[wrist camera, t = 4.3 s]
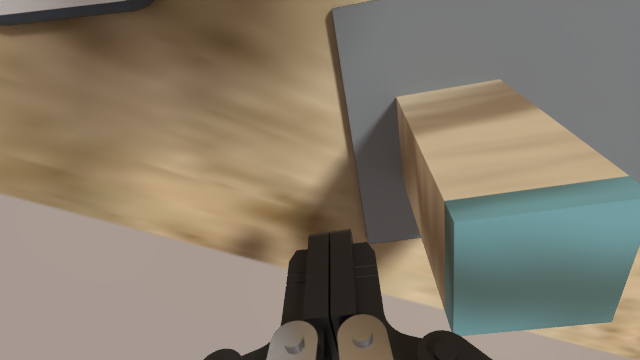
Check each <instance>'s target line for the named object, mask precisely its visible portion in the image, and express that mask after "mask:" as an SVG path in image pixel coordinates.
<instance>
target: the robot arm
mask: <svg viewBox="0 0 640 360" xmlns="http://www.w3.org/2000/svg"><path fill="white" fill-rule="evenodd" d="M286 284H287V286H286V292H285V299H284V307H283V314H282V322H281V327H280V328H279V329H278V330H277V331H276V332H275V333H274V335H273V337H272V339H271V342H269V343H268V344H267V345H265V346H264V347H262V348H260V349H258V350H255V351H253V352H250V353H248V354H246V355H243V356H241V355H240V354H239V353H238V352H236V351H235V350H232V349H221V350H218V351H215V352H213V353H212V354H210V355H208V356H207V357H206V358H205V359H204V360H492V359H491V358H489V357H488V356H487V355H485V354H484V353H482V352H481V351H480V350H479V349H477V348H476V347H474V346H473V345H472V344H470V343H469V342H468V341H466V340H465V339H464V338H462V337H461V336H459V335H458V334H455V333H453V332H449V331H443V330H441V331H434V332H431V333H429V334H427V335H425V336H424V337H423V338H417V337H413V336H409V335H405V334H402V333H400V332H398V331H397V330H395V329H394V328H392V327H391V326H390V324H389V323H388V322H387V320H386V318H385V315H384V310H383V304H382V297H381V290H380V284H379V277H378V270H377V264H376V257H375V252H374V250H373V249H372V248H371V246H370V245H369V244H368V243H367V242H364V243H355V244H353V239H352V233H351V229H349V230H341V231H333V232H331V233H330V232H325V233H317V234H310V235H309V239H308V249H306V250H297V251H296V252H295V254H294V255H293V257H292V258H291V260H290V262H289V268H288V276H287V283H286Z"/></svg>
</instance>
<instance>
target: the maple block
mask: <svg viewBox="0 0 640 360" xmlns="http://www.w3.org/2000/svg"><path fill="white" fill-rule="evenodd" d="M396 100H397V113H398V125H399V138H400V150H401V163H402V175H403V182H404V185H405V188H406V191H407V195H408V198H409V201H410V204H411V207H412V210H413V213H414V216H415V219H416V223H417V226H418V229H419V232H420V235H421V238H422V241H423V244H424V247H425V250H426V254H427V257H428V260H429V263H430V266H431V269H432V272H433V275H434V278H435V281H436V285H437V288H438V291H439V294H440V297H441V300H442V303H443V306H444V309H445V312H446V316H447V318H448V322H449V325H450V328H451V331H452V332H453V333H455V334H458V335H459V336H466V335H477V334H486V333H487V334H488V333H498V332H509V331H520V330H531V329H541V328H552V327H563V326H574V325H584V324H595V323H606V322H612V320H613V317H614V314H615V311H616V309H617V306H618V303H619V300H620V298H621V295H622V292H623V289H624V287H625V284H626V281H627V278H628V276H629V273H630V270H631V267H632V265H633V262H634V259H635V256H636V254H637V251H638V248H639V245H640V183H638V182H637V181H636V180H634V179H633V178H632V177H630V176H629V175H628V174H626V173H625V172H624V171H622V170H621V169H620V168H618V167H617V166H616V165H614V164H613V163H612V162H610V161H609V160H608V159H606V158H605V157H604V156H602V155H601V154H600V153H598V152H597V151H596V150H594V149H593V148H592V147H590V146H589V145H587V144H586V143H585V142H583V141H582V140H581V139H579V138H578V137H577V136H575V135H574V134H573V133H571V132H570V131H569V130H567V129H566V128H565V127H563V126H562V125H561V124H559V123H558V122H557V121H555V120H554V119H553V118H551V117H550V116H549V115H547V114H546V113H545V112H543V111H542V110H541V109H539V108H538V107H537V106H535V105H534V104H533V103H531V102H530V101H528V100H527V99H526V98H524V97H523V96H522V95H520V94H519V93H518V92H516V91H515V90H514V89H512V88H511V87H510V86H508V85H507V84H506V83H504V82H503V81H502V80H500V79H499V80H493V81H487V82H481V83H475V84H469V85H464V86H458V87H452V88H446V89H440V90H434V91H428V92H422V93H417V94H411V95H405V96H399V97H396Z"/></svg>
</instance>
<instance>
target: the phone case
mask: <svg viewBox="0 0 640 360" xmlns="http://www.w3.org/2000/svg"><path fill="white" fill-rule="evenodd" d="M153 1H154V0H0V25H16V24H25V23H34V22H42V21H51V20H60V19H69V18H77V17H86V16H95V15H104V14H112V13H121V12H130V11H136V10H140V9H142V8H145V7H147V6H149V5H150V4H151V3H152V2H153Z"/></svg>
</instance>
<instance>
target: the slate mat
mask: <svg viewBox="0 0 640 360" xmlns="http://www.w3.org/2000/svg"><path fill="white" fill-rule="evenodd" d="M332 13H333V20H334V26H335V33H336V39H337V46H338V52H339V59H340V65H341V71H342V78H343V84H344V91H345V97H346V104H347V110H348V116H349V123H350V129H351V136H352V142H353V149H354V155H355V162H356V168H357V174H358V181H359V187H360V194H361V200H362V207H363V213H364V219H365V226H366V232H367V239H368V244H375V243H383V242H391V241H399V240H407V239H415V238H421V235H420V232H419V229H418V226H417V223H416V219H415V216H414V213H413V210H412V207H411V204H410V201H409V198H408V195H407V191H406V188H405V185H404V182H403V175H402V163H401V150H400V138H399V125H398V113H397V100H396V97H399V96H405V95H411V94H417V93H422V92H428V91H434V90H440V89H446V88H452V87H458V86H464V85H469V84H475V83H481V82H487V81H493V80H499V79H500V80H502V81H503V82H504V83H506V84H507V85H508V86H510V87H511V88H512V89H514V90H515V91H516V92H518V93H519V94H520V95H522V96H523V97H524V98H526V99H527V100H528V101H530V102H531V103H533V104H534V105H535V106H537V107H538V108H539V109H541V110H542V111H543V112H545V113H546V114H547V115H549V116H550V117H551V118H553V119H554V120H555V121H557V122H558V123H559V124H561V125H562V126H563V127H565V128H566V129H567V130H569V131H570V132H571V133H573V134H574V135H575V136H577V137H578V138H579V139H581V140H582V141H583V142H585V143H586V144H587V145H589V146H590V147H592V148H593V149H594V150H596V151H597V152H598V153H600V154H601V155H602V156H604V157H605V158H606V159H608V160H609V161H610V162H612V163H613V164H614V165H616V166H617V167H618V168H620V169H621V170H622V171H624V172H625V173H626V174H628V175H629V176H630V177H632V178H633V179H634V180H636V181H637V182H638V183H640V0H372V1H367V2H362V3H358V4H353V5H348V6H343V7H338V8H333V9H332Z"/></svg>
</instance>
